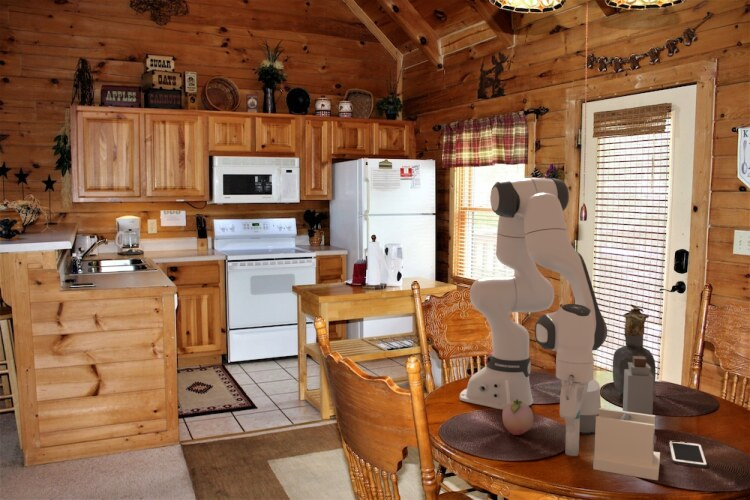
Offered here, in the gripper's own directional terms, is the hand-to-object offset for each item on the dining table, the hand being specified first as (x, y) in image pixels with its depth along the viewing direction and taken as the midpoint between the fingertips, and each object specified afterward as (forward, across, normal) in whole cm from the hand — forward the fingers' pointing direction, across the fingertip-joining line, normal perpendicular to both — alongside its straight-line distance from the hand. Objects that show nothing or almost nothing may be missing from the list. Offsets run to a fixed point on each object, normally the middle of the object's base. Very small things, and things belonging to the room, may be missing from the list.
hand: (573, 425), depth 163 cm
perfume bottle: (+7, +34, -13) cm, 37 cm away
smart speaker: (+7, +18, 0) cm, 20 cm away
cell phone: (+8, +12, -26) cm, 30 cm away
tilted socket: (+7, -2, -13) cm, 15 cm away
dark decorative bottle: (+7, +54, -10) cm, 56 cm away
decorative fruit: (+7, +6, +15) cm, 18 cm away
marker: (+7, 0, 0) cm, 7 cm away
